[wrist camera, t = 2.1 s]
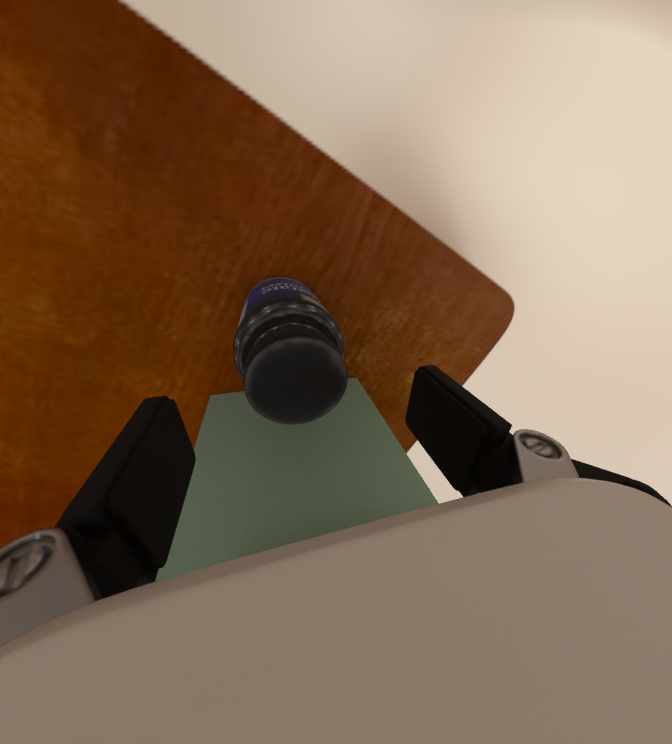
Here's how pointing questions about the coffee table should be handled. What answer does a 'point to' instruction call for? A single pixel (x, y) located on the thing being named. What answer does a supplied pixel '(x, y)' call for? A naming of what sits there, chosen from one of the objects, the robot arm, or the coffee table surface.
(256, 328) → the pill bottle
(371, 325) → the coffee table surface
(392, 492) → the slim lidded bin
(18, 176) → the coffee table surface
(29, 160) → the coffee table surface
